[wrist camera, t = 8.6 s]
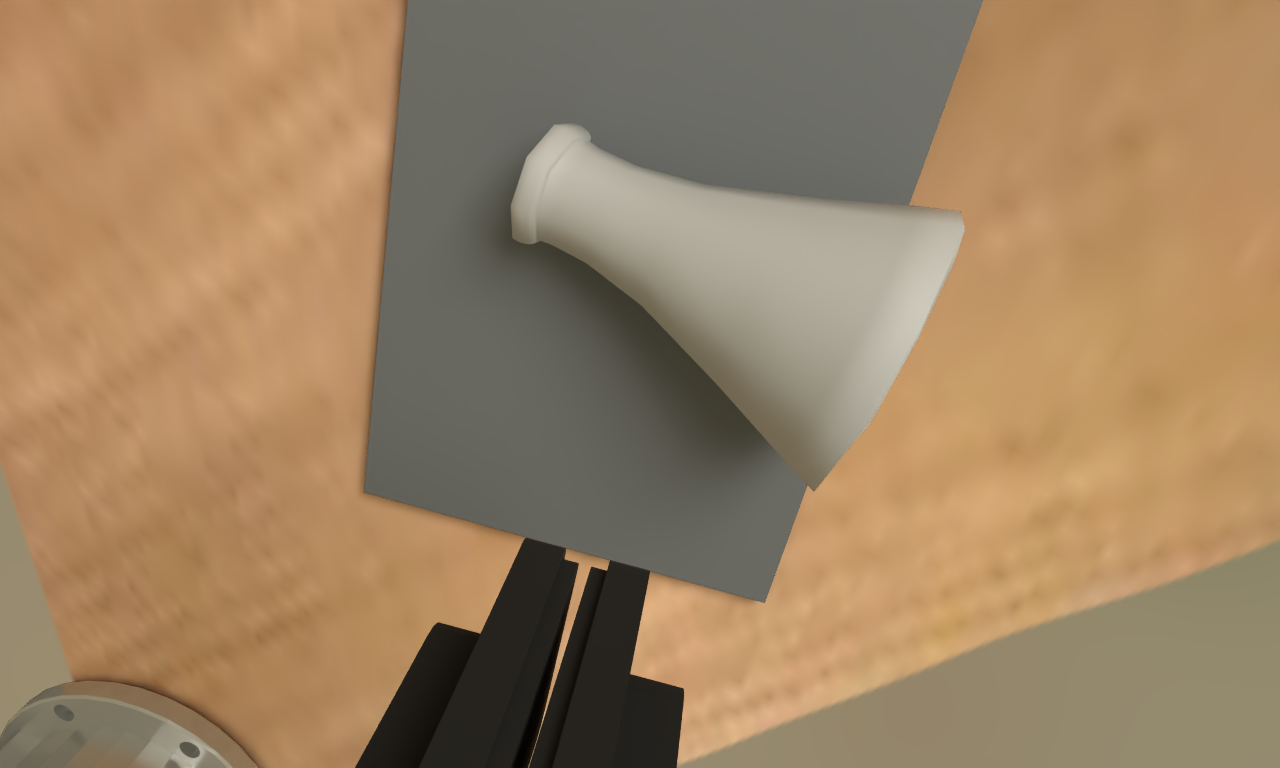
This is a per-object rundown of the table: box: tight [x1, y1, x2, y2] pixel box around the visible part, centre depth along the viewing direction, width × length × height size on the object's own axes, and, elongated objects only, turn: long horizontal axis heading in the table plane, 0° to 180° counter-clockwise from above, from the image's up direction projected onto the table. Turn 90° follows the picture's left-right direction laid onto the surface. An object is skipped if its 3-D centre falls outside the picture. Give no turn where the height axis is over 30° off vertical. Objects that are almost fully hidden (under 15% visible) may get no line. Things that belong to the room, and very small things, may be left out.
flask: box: [511, 123, 965, 491], centre depth 21 cm, size 7×7×10 cm
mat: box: [364, 0, 983, 603], centre depth 24 cm, size 14×20×1 cm
